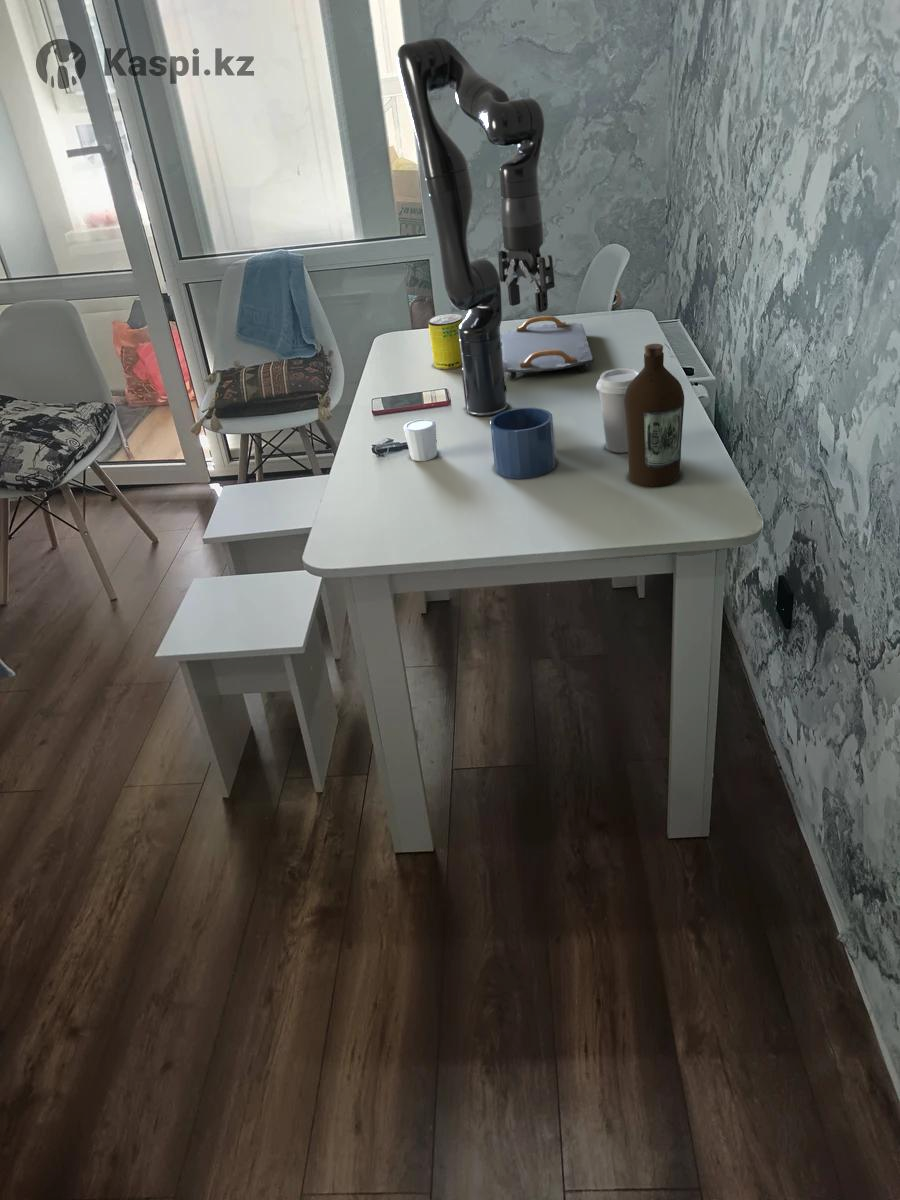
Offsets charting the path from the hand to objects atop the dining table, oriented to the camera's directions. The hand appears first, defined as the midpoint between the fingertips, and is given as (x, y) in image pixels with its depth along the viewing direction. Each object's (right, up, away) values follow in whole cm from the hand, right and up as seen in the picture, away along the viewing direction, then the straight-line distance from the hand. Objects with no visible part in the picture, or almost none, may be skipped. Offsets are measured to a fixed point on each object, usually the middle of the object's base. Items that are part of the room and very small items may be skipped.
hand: (528, 307), depth 179 cm
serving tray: (+10, +7, +62) cm, 63 cm away
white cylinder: (-21, -27, +16) cm, 37 cm away
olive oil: (+23, -34, -7) cm, 42 cm away
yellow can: (-15, +6, +67) cm, 69 cm away
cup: (0, -30, +5) cm, 31 cm away
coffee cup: (+20, -26, +7) cm, 34 cm away
